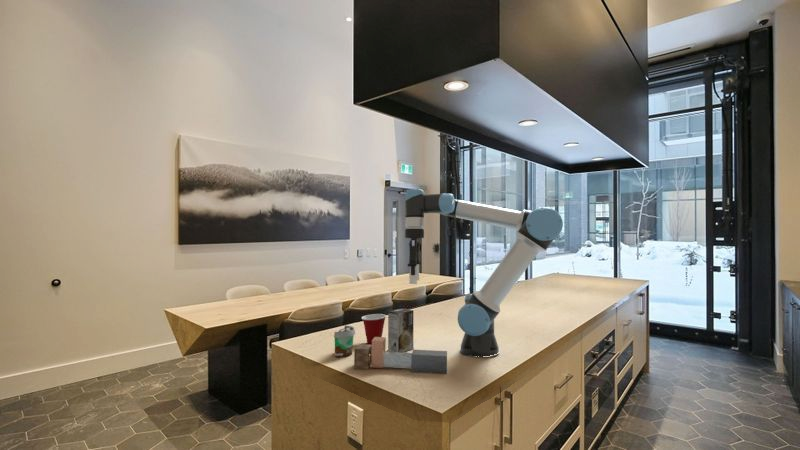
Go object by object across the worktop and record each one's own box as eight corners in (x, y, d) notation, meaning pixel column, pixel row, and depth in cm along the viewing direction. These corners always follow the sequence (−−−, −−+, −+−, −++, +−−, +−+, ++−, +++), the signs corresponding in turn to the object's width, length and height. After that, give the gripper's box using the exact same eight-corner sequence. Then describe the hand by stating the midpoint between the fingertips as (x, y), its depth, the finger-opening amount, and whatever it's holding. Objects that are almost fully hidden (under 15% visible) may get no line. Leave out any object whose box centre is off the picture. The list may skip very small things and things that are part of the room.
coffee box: (402, 346, 162) (403, 308, 162) (413, 349, 157) (414, 310, 158) (387, 350, 155) (387, 310, 156) (398, 353, 151) (398, 312, 151)
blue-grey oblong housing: (446, 368, 134) (447, 351, 134) (446, 374, 128) (446, 356, 128) (413, 366, 135) (413, 349, 136) (411, 372, 130) (411, 354, 130)
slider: (422, 365, 135) (423, 339, 135) (421, 369, 130) (422, 342, 130) (362, 362, 137) (363, 336, 138) (359, 366, 132) (360, 339, 133)
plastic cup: (361, 340, 171) (361, 313, 171) (385, 339, 172) (385, 313, 172) (360, 346, 160) (361, 318, 160) (386, 346, 161) (386, 318, 161)
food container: (349, 360, 142) (349, 333, 143) (333, 358, 143) (334, 332, 144) (359, 350, 154) (359, 325, 155) (344, 349, 155) (345, 325, 156)
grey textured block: (371, 364, 137) (372, 344, 138) (368, 369, 131) (368, 349, 132) (358, 363, 138) (358, 344, 138) (354, 369, 132) (354, 348, 132)
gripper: (408, 229, 164) (407, 278, 163) (401, 227, 139) (401, 285, 138) (425, 229, 163) (425, 279, 162) (422, 227, 138) (422, 285, 138)
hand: (414, 282), depth 150 cm, fingers open, 13 cm apart
